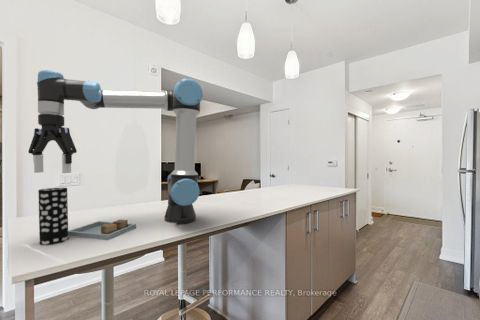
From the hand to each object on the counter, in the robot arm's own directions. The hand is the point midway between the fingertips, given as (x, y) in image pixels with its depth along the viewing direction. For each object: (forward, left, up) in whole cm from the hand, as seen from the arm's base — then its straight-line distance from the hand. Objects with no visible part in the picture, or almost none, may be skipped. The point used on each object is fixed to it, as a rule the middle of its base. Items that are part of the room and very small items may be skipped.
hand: (52, 172), depth 87 cm
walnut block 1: (-15, -10, -25) cm, 31 cm away
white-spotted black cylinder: (0, 0, -26) cm, 26 cm away
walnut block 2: (-15, -16, -25) cm, 33 cm away
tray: (-9, -13, -26) cm, 30 cm away
